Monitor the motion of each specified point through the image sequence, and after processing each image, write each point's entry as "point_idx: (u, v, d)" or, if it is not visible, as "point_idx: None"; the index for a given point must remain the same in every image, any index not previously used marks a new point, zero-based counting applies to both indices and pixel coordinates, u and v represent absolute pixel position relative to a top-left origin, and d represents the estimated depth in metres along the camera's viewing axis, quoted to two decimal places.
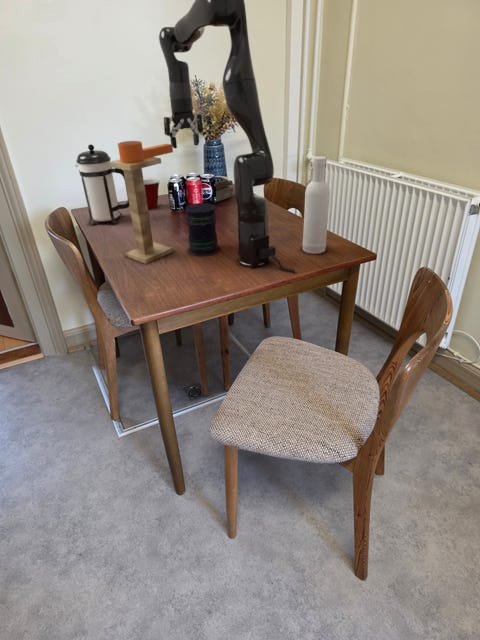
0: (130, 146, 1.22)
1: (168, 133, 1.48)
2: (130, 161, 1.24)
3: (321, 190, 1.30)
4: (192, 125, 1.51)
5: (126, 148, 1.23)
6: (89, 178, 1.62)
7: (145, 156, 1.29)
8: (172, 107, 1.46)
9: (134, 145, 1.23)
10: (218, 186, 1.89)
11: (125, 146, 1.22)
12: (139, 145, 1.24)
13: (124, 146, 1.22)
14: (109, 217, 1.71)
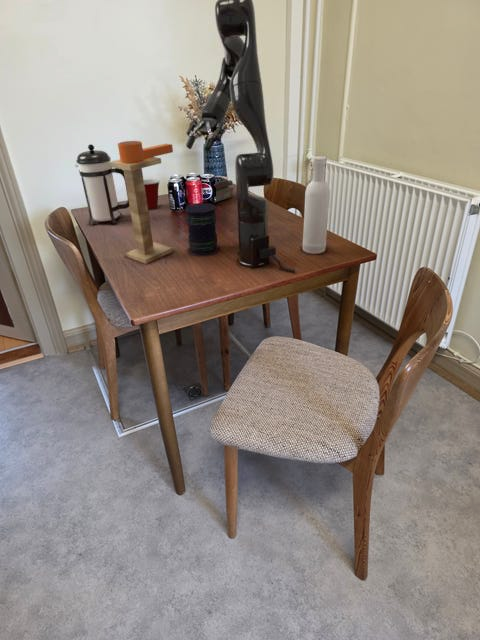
0: (130, 146, 1.22)
1: (187, 131, 1.50)
2: (130, 161, 1.24)
3: (321, 190, 1.30)
4: (208, 128, 1.44)
5: (126, 148, 1.23)
6: (89, 178, 1.62)
7: (145, 156, 1.29)
8: None
9: (134, 145, 1.23)
10: (218, 186, 1.89)
11: (125, 146, 1.22)
12: (139, 145, 1.24)
13: (124, 146, 1.22)
14: (109, 217, 1.71)
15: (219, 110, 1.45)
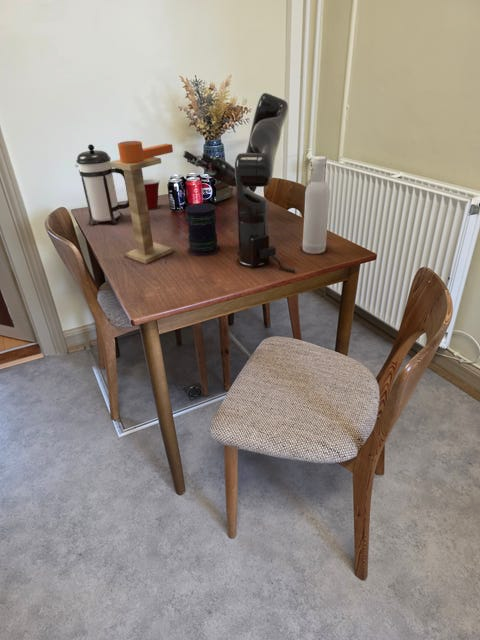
0: (130, 146, 1.22)
1: None
2: (130, 161, 1.24)
3: (321, 190, 1.30)
4: None
5: (126, 148, 1.23)
6: (89, 178, 1.62)
7: (145, 156, 1.29)
8: None
9: (134, 145, 1.23)
10: (218, 186, 1.89)
11: (125, 146, 1.22)
12: (139, 145, 1.24)
13: (124, 146, 1.22)
14: (109, 217, 1.71)
15: (225, 165, 1.56)
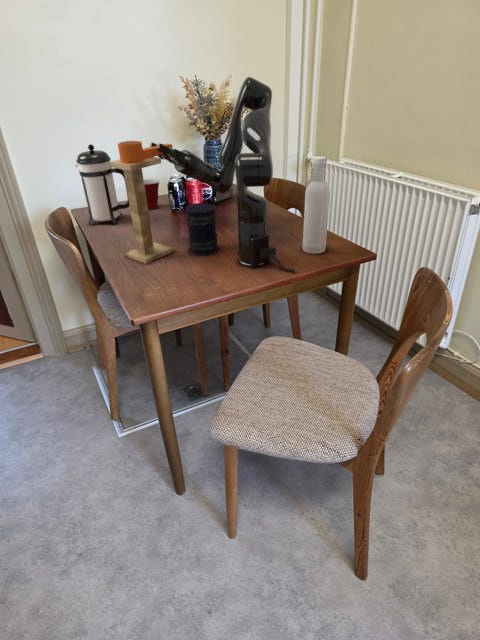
0: (130, 146, 1.22)
1: None
2: (130, 161, 1.24)
3: (321, 190, 1.30)
4: None
5: (126, 148, 1.23)
6: (89, 178, 1.62)
7: (145, 156, 1.29)
8: None
9: (134, 145, 1.23)
10: None
11: (125, 146, 1.22)
12: (139, 145, 1.24)
13: (124, 146, 1.22)
14: (109, 217, 1.71)
15: (195, 160, 1.43)
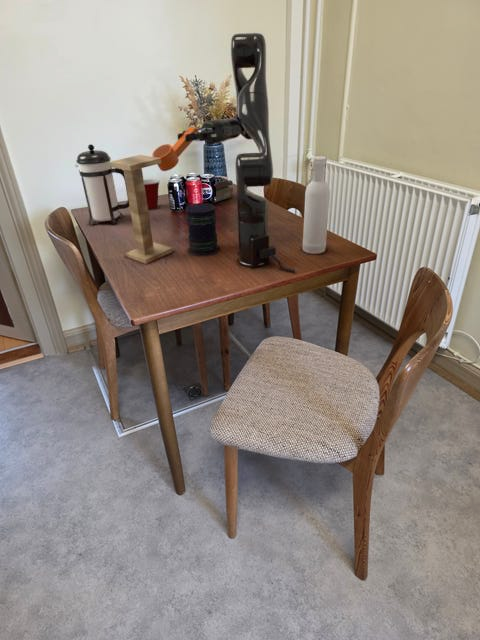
0: (164, 157, 1.33)
1: (184, 131, 1.45)
2: (168, 168, 1.37)
3: (321, 190, 1.30)
4: (201, 129, 1.43)
5: (161, 160, 1.34)
6: (89, 178, 1.62)
7: (178, 154, 1.39)
8: None
9: (167, 154, 1.33)
10: (218, 186, 1.89)
11: None
12: (171, 151, 1.34)
13: None
14: (109, 217, 1.71)
15: (220, 127, 1.47)
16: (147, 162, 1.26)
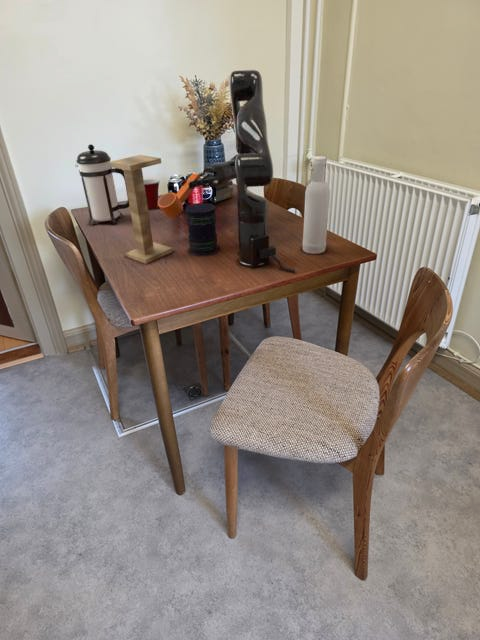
0: (169, 206, 1.41)
1: (187, 176, 1.53)
2: (173, 215, 1.45)
3: (321, 190, 1.30)
4: (203, 175, 1.51)
5: (167, 208, 1.42)
6: (89, 178, 1.62)
7: (182, 201, 1.47)
8: None
9: (172, 203, 1.41)
10: (218, 186, 1.89)
11: (165, 207, 1.42)
12: (176, 200, 1.42)
13: (165, 208, 1.42)
14: (109, 217, 1.71)
15: (221, 172, 1.55)
16: (147, 162, 1.26)
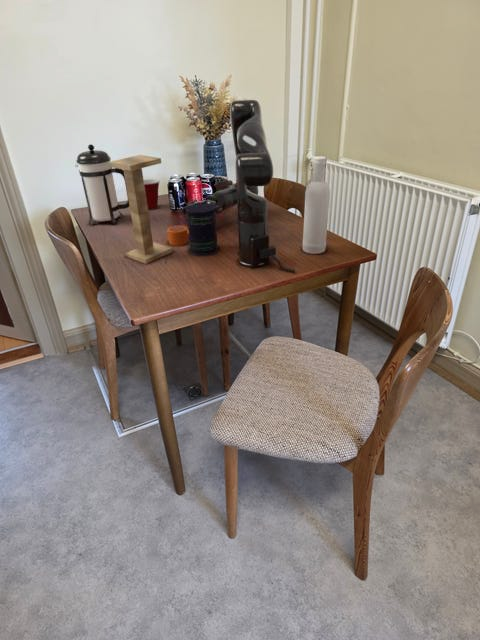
0: (178, 233, 1.48)
1: (187, 203, 1.60)
2: (177, 244, 1.50)
3: (321, 190, 1.30)
4: None
5: (175, 234, 1.49)
6: (89, 178, 1.62)
7: None
8: None
9: (181, 231, 1.49)
10: (218, 186, 1.89)
11: (174, 233, 1.48)
12: (185, 231, 1.50)
13: (173, 233, 1.48)
14: (109, 217, 1.71)
15: (222, 200, 1.60)
16: (147, 162, 1.26)
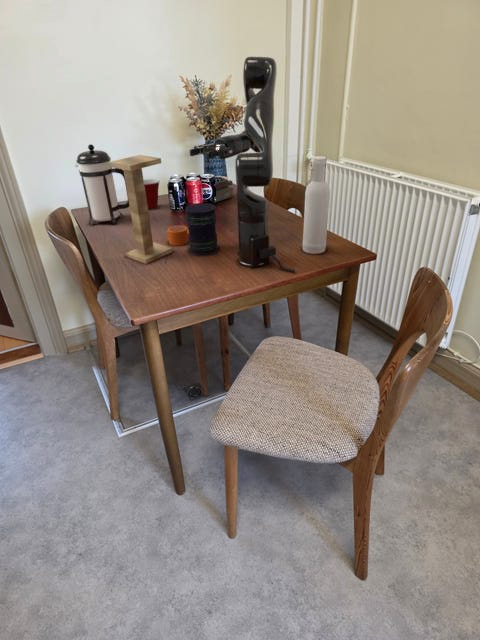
0: (178, 233, 1.48)
1: (195, 146, 1.54)
2: (177, 244, 1.50)
3: (321, 190, 1.30)
4: (217, 146, 1.50)
5: (175, 234, 1.49)
6: (89, 178, 1.62)
7: None
8: None
9: (181, 231, 1.49)
10: (218, 186, 1.89)
11: (174, 233, 1.48)
12: (185, 231, 1.50)
13: (173, 233, 1.48)
14: (109, 217, 1.71)
15: (232, 143, 1.55)
16: (147, 162, 1.26)
